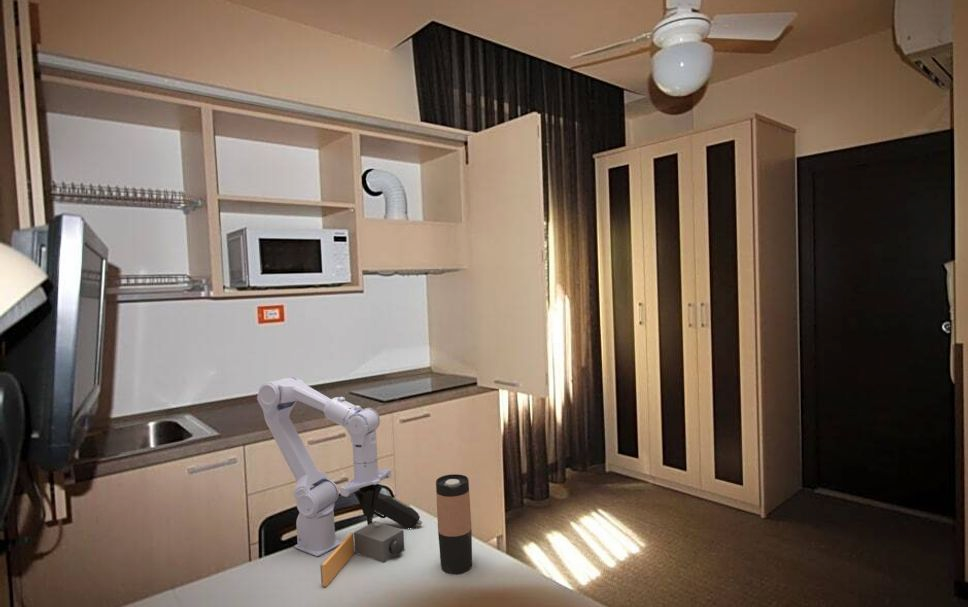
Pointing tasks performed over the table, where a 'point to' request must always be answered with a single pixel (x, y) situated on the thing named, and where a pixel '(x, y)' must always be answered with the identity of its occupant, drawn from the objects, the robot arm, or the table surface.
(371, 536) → the camera housing
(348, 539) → the side door
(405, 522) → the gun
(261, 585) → the table surface
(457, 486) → the travel mug
